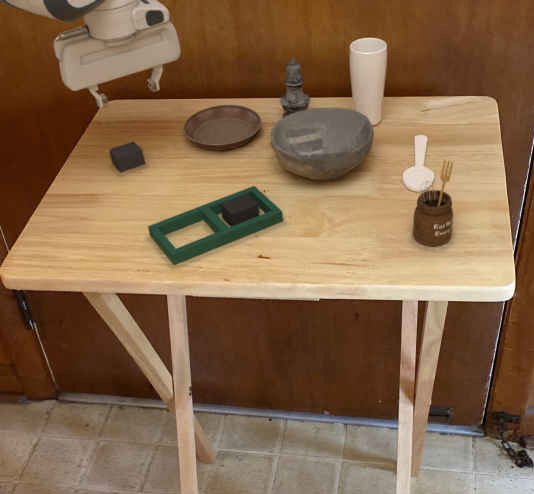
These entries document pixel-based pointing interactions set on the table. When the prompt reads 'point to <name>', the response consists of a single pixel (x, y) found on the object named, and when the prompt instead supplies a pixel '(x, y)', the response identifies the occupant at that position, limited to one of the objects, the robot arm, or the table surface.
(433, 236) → the utensil holder
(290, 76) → the dark grey tiered figurine
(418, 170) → the spoon
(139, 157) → the pad
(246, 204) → the pad
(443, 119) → the table surface
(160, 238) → the green divided frame
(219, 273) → the table surface
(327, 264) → the table surface
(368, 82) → the drinking glass
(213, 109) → the saucer
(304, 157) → the bowl
